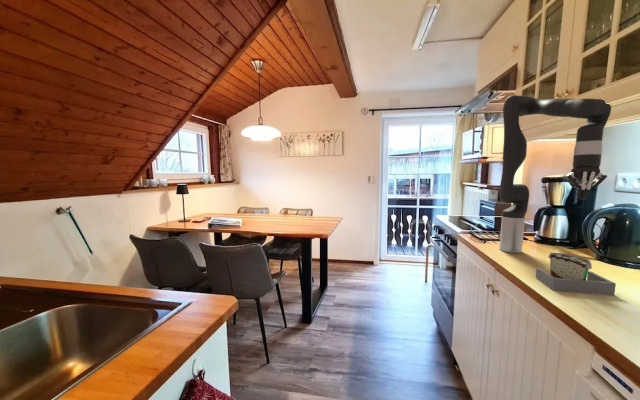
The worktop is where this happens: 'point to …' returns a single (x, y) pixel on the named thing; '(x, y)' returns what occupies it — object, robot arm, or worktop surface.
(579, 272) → the food container
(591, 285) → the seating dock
